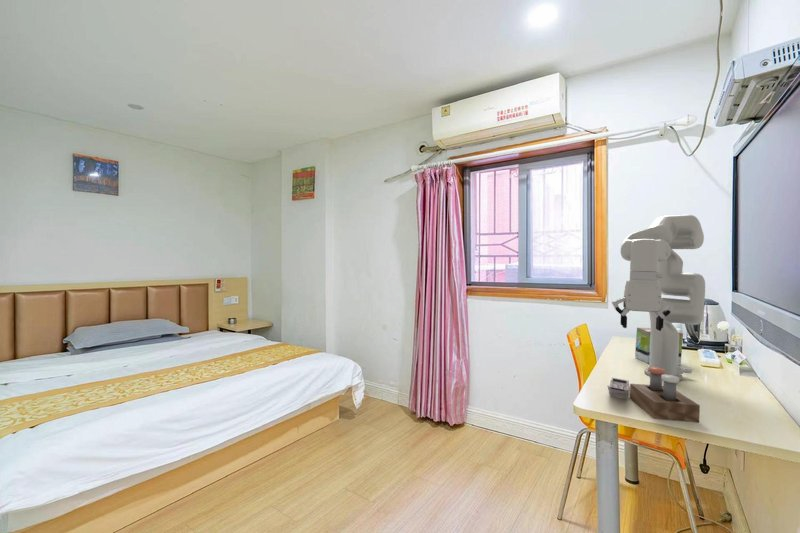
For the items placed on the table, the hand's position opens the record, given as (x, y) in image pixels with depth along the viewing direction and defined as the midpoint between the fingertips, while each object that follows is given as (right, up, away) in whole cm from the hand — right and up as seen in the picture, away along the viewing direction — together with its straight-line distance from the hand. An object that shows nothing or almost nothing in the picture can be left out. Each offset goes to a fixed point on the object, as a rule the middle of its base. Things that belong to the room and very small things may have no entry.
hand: (641, 328), depth 121 cm
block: (+3, -25, -5) cm, 25 cm away
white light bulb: (+3, -20, -9) cm, 22 cm away
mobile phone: (-2, -25, +8) cm, 26 cm away
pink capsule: (+4, -20, -1) cm, 20 cm away
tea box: (+40, -24, +50) cm, 68 cm away
